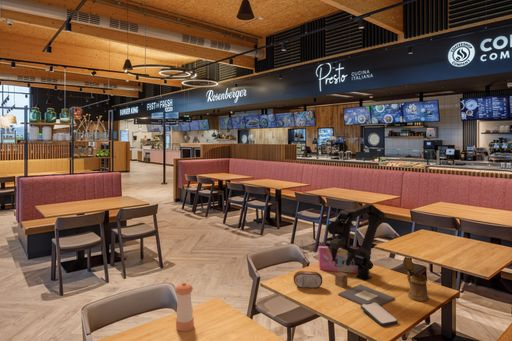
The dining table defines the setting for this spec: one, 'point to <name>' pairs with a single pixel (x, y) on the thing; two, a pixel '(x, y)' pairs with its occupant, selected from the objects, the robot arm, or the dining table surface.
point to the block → (341, 279)
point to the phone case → (379, 314)
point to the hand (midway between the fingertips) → (340, 263)
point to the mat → (365, 295)
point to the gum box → (339, 263)
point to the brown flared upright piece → (416, 283)
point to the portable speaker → (307, 279)
